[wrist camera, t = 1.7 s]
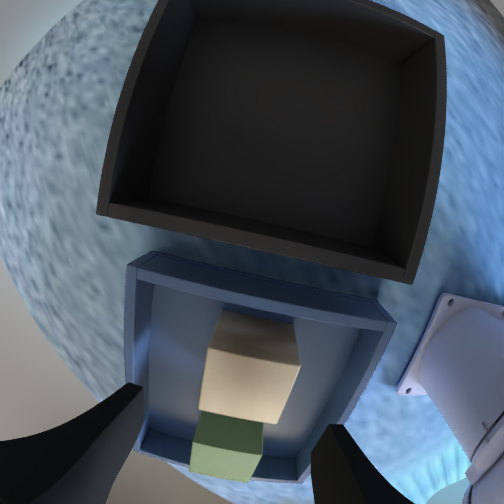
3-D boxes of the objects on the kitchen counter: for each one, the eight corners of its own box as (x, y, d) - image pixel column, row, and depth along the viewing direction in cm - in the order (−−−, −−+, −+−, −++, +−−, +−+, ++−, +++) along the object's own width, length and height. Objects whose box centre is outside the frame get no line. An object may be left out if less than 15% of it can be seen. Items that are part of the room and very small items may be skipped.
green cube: (264, 410, 16) (262, 455, 12) (251, 442, 17) (248, 483, 13) (205, 398, 16) (192, 441, 12) (199, 432, 17) (188, 471, 13)
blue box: (377, 300, 15) (398, 322, 12) (299, 457, 18) (302, 484, 15) (150, 250, 15) (126, 264, 12) (144, 425, 18) (133, 450, 15)
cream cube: (293, 323, 15) (301, 365, 11) (275, 378, 16) (276, 425, 12) (221, 308, 15) (207, 346, 11) (211, 365, 16) (197, 409, 12)
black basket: (407, 64, 11) (444, 35, 7) (374, 259, 14) (412, 285, 10) (193, 17, 12) (172, -26, 7) (140, 206, 14) (95, 214, 10)
